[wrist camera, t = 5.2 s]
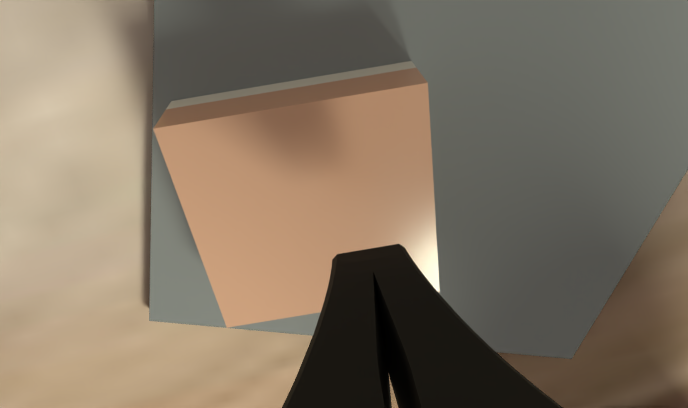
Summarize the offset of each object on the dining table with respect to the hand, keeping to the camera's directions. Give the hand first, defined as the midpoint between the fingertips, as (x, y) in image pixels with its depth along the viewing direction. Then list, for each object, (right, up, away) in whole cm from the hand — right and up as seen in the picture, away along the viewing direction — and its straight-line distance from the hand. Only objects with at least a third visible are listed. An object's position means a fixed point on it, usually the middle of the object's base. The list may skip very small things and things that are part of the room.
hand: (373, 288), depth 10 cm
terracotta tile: (+2, +2, +3) cm, 4 cm away
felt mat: (+2, +3, +4) cm, 6 cm away
